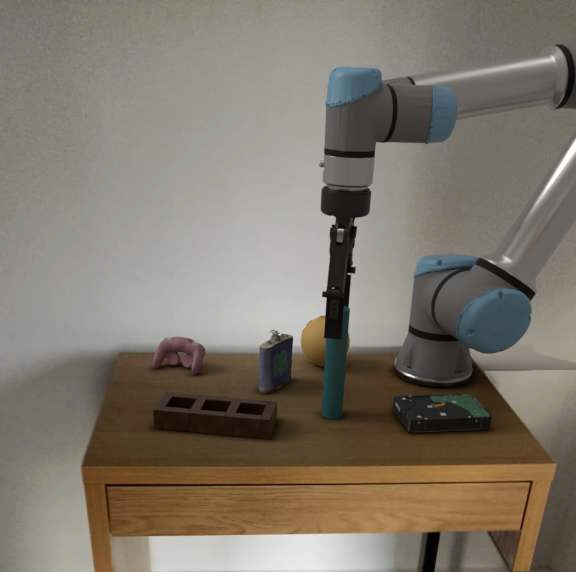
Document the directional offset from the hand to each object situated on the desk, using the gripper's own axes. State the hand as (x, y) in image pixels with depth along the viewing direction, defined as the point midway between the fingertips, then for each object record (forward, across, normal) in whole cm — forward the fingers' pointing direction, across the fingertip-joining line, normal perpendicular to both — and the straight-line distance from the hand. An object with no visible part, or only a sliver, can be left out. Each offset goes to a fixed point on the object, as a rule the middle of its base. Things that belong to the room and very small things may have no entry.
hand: (336, 325), depth 124 cm
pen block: (+16, +8, -19) cm, 26 cm away
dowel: (+16, 0, 0) cm, 16 cm away
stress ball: (+16, -24, -4) cm, 29 cm away
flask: (+16, -11, -12) cm, 23 cm away
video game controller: (+17, -16, -32) cm, 39 cm away
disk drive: (+16, -2, +19) cm, 25 cm away
